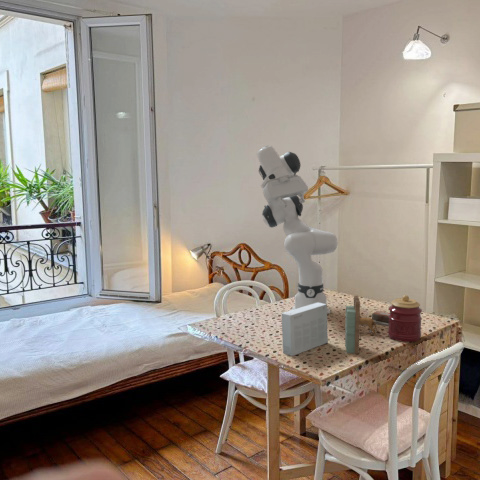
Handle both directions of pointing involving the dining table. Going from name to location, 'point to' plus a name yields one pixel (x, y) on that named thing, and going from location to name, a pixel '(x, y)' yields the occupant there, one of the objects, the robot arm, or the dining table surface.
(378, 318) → the packaged product
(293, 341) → the skincare box
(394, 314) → the canister
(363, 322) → the lion figurine
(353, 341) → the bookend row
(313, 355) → the dining table surface
